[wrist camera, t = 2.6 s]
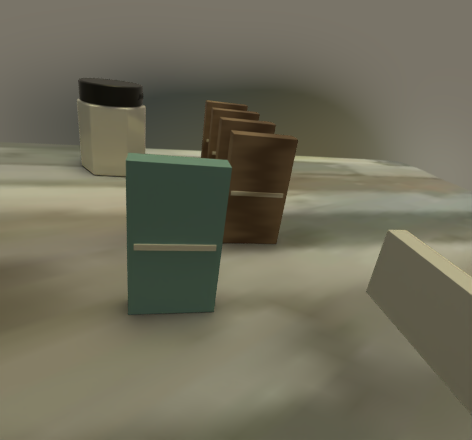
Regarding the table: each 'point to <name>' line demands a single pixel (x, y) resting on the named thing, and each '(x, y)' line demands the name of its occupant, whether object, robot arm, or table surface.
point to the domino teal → (174, 231)
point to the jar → (110, 124)
